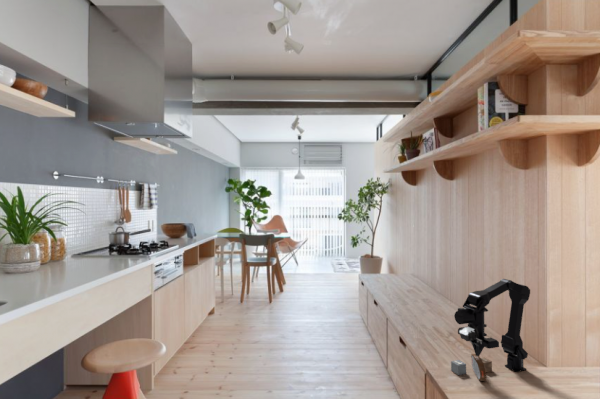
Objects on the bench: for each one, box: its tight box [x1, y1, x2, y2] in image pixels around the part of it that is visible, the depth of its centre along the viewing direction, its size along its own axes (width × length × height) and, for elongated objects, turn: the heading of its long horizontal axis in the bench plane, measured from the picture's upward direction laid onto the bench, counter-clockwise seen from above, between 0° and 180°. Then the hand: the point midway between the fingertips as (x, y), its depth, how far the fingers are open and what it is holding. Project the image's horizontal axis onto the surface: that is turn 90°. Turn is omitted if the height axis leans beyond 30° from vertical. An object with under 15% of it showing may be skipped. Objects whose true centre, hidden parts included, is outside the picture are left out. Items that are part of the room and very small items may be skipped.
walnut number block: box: [480, 357, 493, 373], centre depth 169 cm, size 4×4×5 cm
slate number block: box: [450, 359, 467, 376], centre depth 167 cm, size 4×4×5 cm
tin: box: [470, 353, 487, 382], centre depth 163 cm, size 15×3×8 cm, turn 168°
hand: (477, 355), depth 163 cm, fingers closed
